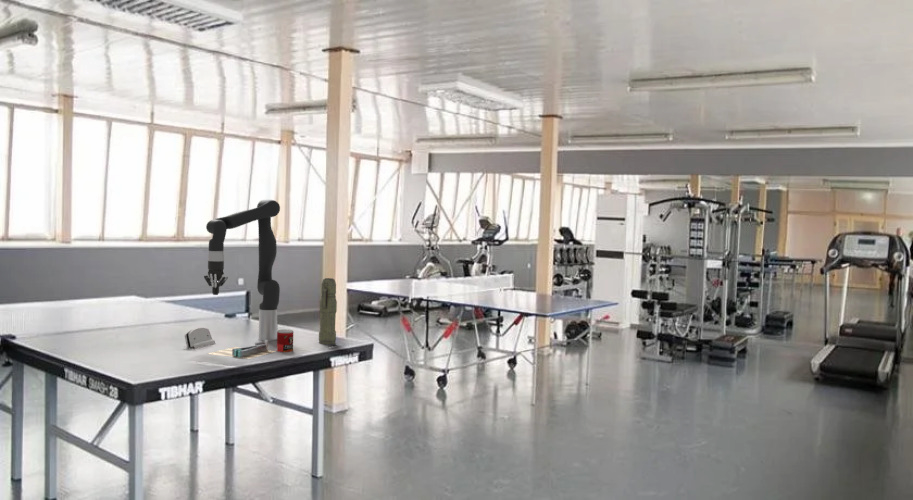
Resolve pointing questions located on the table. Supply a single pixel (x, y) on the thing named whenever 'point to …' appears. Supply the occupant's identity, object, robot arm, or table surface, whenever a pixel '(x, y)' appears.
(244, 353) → the tongs fixed
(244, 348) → the tong arm
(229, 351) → the board
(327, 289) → the green moai statue
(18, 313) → the table surface
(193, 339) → the grey curved block
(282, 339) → the canned food
